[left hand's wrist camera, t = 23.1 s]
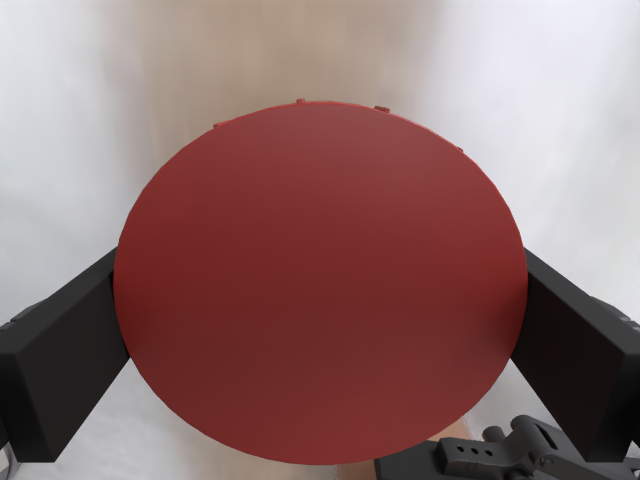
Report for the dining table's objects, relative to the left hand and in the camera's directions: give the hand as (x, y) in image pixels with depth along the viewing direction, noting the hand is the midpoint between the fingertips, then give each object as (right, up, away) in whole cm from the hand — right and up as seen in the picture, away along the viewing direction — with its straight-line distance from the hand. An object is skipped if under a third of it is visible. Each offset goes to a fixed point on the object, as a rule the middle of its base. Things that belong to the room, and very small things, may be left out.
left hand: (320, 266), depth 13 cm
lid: (0, -1, -3) cm, 3 cm away
